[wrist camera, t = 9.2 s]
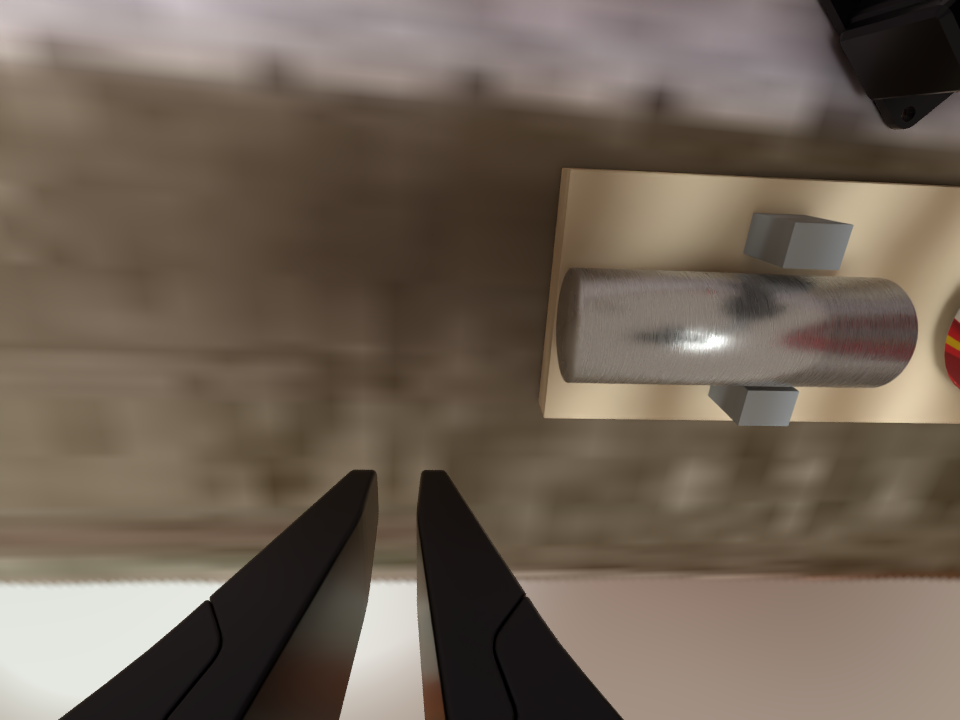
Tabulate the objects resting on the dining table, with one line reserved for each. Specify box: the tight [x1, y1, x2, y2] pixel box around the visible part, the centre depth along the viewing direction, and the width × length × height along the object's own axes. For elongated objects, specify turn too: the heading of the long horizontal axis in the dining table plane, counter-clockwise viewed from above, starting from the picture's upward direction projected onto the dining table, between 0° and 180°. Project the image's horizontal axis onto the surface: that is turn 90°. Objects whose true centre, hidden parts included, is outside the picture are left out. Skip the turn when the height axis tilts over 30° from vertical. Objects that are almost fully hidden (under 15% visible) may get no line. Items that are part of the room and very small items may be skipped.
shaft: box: [556, 267, 918, 388], centre depth 18 cm, size 11×4×4 cm, turn 87°
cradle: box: [538, 168, 960, 426], centre depth 20 cm, size 28×10×6 cm, turn 87°
